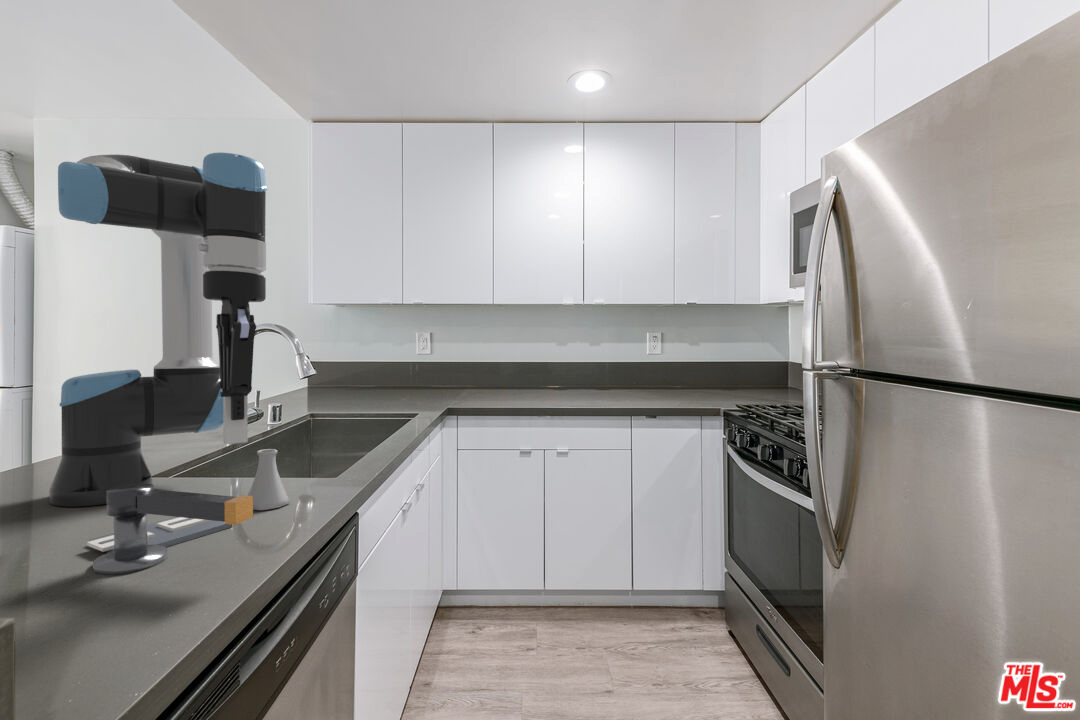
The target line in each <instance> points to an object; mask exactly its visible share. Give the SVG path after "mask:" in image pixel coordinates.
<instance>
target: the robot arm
mask: <svg viewBox="0 0 1080 720" xmlns="http://www.w3.org/2000/svg"><path fill="white" fill-rule="evenodd" d="M265 173H266V170H265V167H264V166H263V164H262V163H261V162H259V161H258V160H256V159H254V158H251V157H249V156H246V155H242V154H236V153H231V152H211V153H209V154H207V155H205V156H204V158H203V160H202V168H198V167H196V166H194V165H193V166H189V165H184V164H177V163H172V162H167V161H161V160H155V159H151V158H145V157H141V156H135V155H129V154H97V155H90V156H87V157H84V158H81V159H80V160H78V161H77V162H73V161H63V162H61V163H59V165H58V167H57V194H58V195H57V197H58V211H59V214H60V215H61V216H62V217H63V218H65V219H67V220H71V221H76V222H84V223H86V224H90V225H98V224H99V225H105V226H106V225H109V226H116V227H118V226H119V227H129V228H135V229H136V228H137V229H145V230H146V229H147V230H151V231H152V233H154V234H155V235H156V237H158V238H159V239H160V251H161V252H160V254H161V255H160V258H161V259H160V260H161V264H160V265H161V266H160V267H161V322H162V323H161V327H162V330H161V331H162V334H161V335H162V336H161V337H162V339H161V340H162V359H161V360H160V361H159V362H157V364H155V365H154V366H153V376H142V373H141V371H140V370H138V369H125V370H123V369H122V370H113V371H105V372H104V371H103V372H96V373H89V374H83V375H77V376H73V377H70V378H68V379H66V380H65V381H64V382H63V383H62V385H61V392H60V393H61V394H60V402H59V404H58V405H59V407H61V460H60V462H59V465H58V468H57V470H56V473H55V476H54V477H53V480H52V483H51V485H50V487H49V504H51V505H52V506H58V507H71V508H72V507H90V506H100V505H107V490H109V489H111V488H114V487H117V486H122V485H128V484H140V483H145V484H152V485H153V477H152V474H151V472H150V469H149V466H148V464H147V462H146V460H145V457H144V456H143V452H142V437H152V436H165V435H175V434H176V435H177V434H178V435H179V434H186V433H187V434H189V433H194V434H199V433H201V432H207V431H215V430H218V429H220V428H221V427H222V426H223V443H224V444H225V445H231V444H232V445H234V444H242V443H248V441H249V440H248V438H249V437H248V435H249V434H248V431H249V430H248V426H249V425H248V422H249V421H248V417H249V416H248V414H249V413H248V401H249V400H248V396H249V394H250V393H251V392H252V390H253V386H252V382H253V380H252V379H253V362H254V361H253V360H254V348H255V347H254V346H255V345H254V344H255V336H256V330H257V325H256V322H255V316H254V314H251V309H250V308H251V307H250V303H261V302H264V301H265V300H266V294H267V293H266V291H267V290H266V289H267V288H266V286H267V285H266V284H267V283H266V281H267V279H266V277H265V276H264V275H263V274H262V273H264V272H265V271H266V269H267V242H266V206H267V205H266V203H267V202H266V195H267V194H266V192H267V190H268V187H267V183H266V174H265ZM212 301H220V302H221V310H220V311H221V313H217V314H216V325H215V328H216V330H217V338H218V357H219V362H217V361H216V360H215V359H214V358H213V355H214V353H213V304H212V303H213V302H212Z"/></svg>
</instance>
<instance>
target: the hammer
mask: <svg viewBox="0 0 1080 720" xmlns="http://www.w3.org/2000/svg"><path fill="white" fill-rule="evenodd" d="M141 513H143V514H147V515H154V516H166V517H172V518H173V517H183V518H193V519H203V520H213V521H223V522H225V524H231V525H232V526H236V525H237V526H238V524H241V523H244V522H246V521H249V520H250V519H253V518H254V510H253V496H248V495H244V494H242V495H239V496H233V495H232V496H231V495H223V494H222V495H221V494H210V493H198V492H189V491H188V492H187V491H176V490H165V489H154V485H153V483H152V484H145V483H140V484H128V485H122V486H117V487H114V488H111V489H109V490H107V504H106V516H109V517H113V518H114V517H122V516H131V515H137V514H141Z"/></svg>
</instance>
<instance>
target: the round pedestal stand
mask: <svg viewBox="0 0 1080 720" xmlns="http://www.w3.org/2000/svg"><path fill="white" fill-rule="evenodd" d="M147 524H148V514H143V513H141V514H137V515H131V516H122V517H113V533H114V551H111V552H109V553H108V552H106V553H104V554H102V555H100V556H98V557H97V558H95V559H94V560H93V562H92V571H93V572H94V573H95V574H98V575H105V576H106V575H108V576H109V575H111V576H113V575H123V574H129V573H130V574H131V573H134V572H139V571H143V570H145V569H149V568H151V567H154V566H156V565H159V564H160V563H162V562H164V561H165V560H166V559H167V558H168V549H167V548H168V547H164V546H160V545H151V546H150V547H148V546H149V545H148V538H147Z"/></svg>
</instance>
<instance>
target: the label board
mask: <svg viewBox="0 0 1080 720" xmlns="http://www.w3.org/2000/svg"><path fill="white" fill-rule="evenodd" d="M232 527H233V525H231V524H225V522H223V521H213V520H203V519H193V518H183V517H173V516H172V517H170V518H167V519H166V518H165V519H162V520H158V521H156V522H155V521H154V522H151V523H147V538H148V545H149V546H148V547H150V546H151V545H160V546H164V547H166V548H169V547H171V546H174V545H178V544H180V543H184V542H188V541H191V540H194V539H198V538H200V537H204V536H207V535H210V534H214V533H216V532H221V531H223V530H227V529H229V528H232ZM86 546H87V547H89V548H92V549H95V550H97V551H99V552H102V553H103V552H104V553H105V552H106V553H109V552H111V551H114V532H113V533H110V534H105V535H101V536H98V537H94V538H90V539H89V540H88V541H87V542H86Z"/></svg>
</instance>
